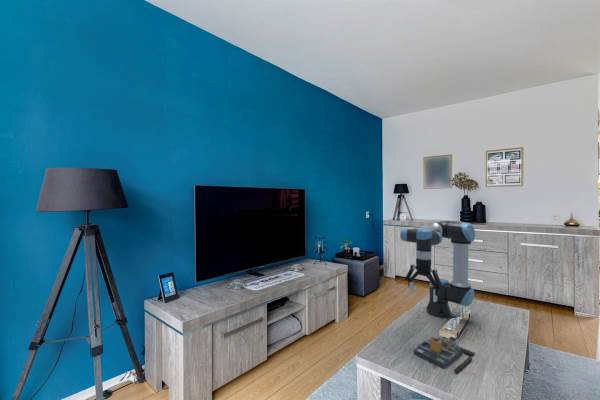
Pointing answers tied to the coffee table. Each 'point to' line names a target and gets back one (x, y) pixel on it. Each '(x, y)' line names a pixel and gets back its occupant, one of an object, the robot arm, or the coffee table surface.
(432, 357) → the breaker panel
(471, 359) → the rod
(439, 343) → the block
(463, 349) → the cord front
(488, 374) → the coffee table surface
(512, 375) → the coffee table surface
